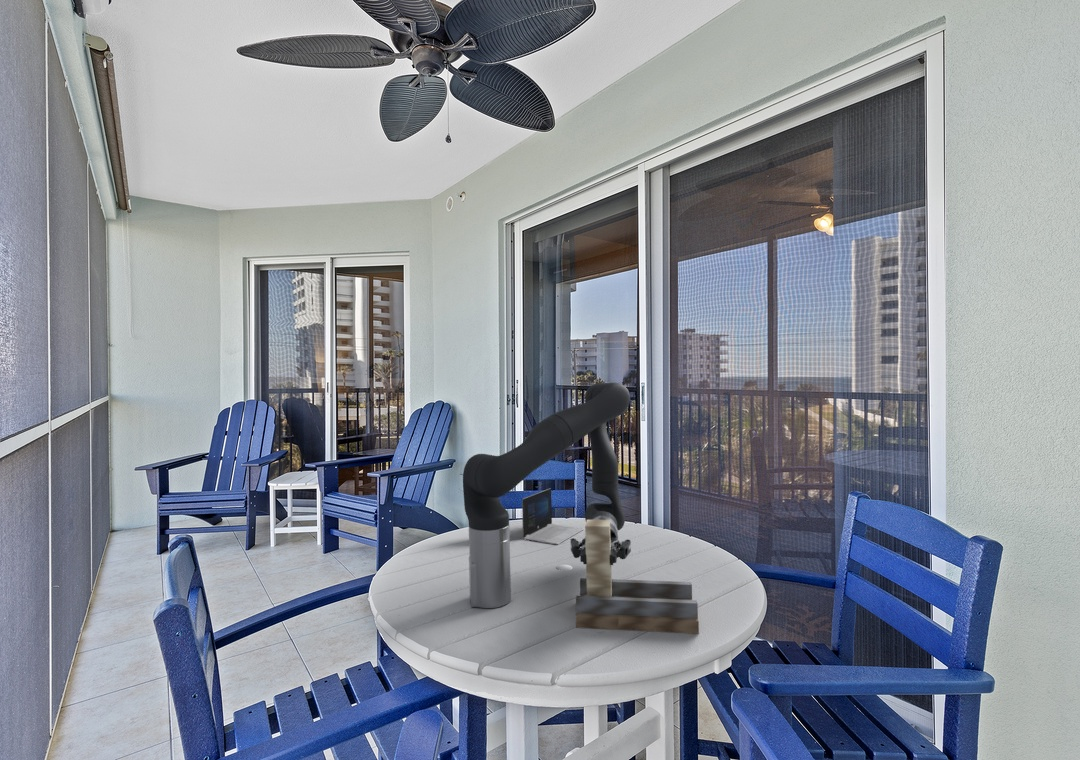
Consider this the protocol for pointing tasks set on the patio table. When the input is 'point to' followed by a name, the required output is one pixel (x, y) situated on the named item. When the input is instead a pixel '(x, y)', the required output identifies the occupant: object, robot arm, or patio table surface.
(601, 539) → the tall block
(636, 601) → the channel deck
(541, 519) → the laptop
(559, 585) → the patio table surface
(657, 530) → the patio table surface
